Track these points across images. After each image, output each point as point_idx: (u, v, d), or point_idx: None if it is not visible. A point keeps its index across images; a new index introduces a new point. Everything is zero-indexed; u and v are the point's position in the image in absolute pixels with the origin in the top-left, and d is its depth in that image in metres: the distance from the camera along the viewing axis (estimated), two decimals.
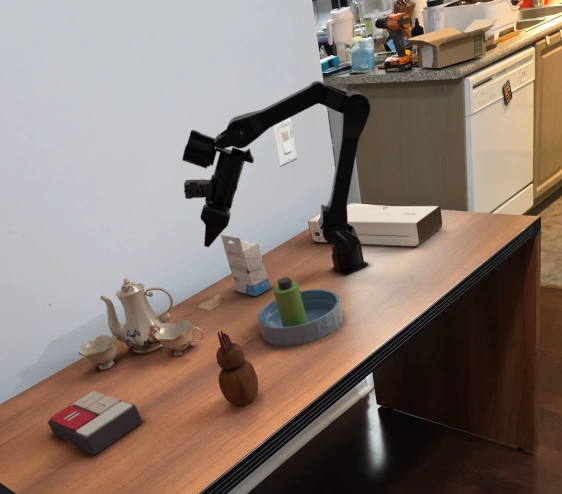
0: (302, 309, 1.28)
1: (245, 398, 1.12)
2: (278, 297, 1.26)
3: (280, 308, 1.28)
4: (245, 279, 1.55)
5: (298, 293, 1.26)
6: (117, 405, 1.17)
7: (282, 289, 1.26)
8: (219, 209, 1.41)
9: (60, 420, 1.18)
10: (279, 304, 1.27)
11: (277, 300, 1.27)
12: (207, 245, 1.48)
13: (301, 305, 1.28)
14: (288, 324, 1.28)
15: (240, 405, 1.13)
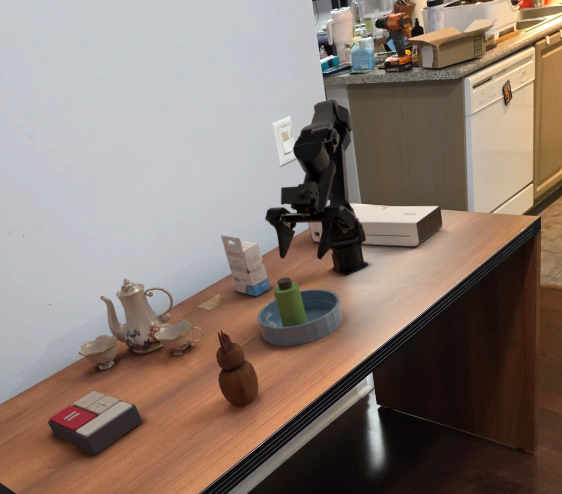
0: (302, 309, 1.28)
1: (245, 398, 1.12)
2: (278, 297, 1.26)
3: (280, 308, 1.28)
4: (245, 279, 1.55)
5: (298, 293, 1.26)
6: (117, 405, 1.17)
7: (282, 289, 1.26)
8: None
9: (60, 420, 1.18)
10: (279, 304, 1.27)
11: (277, 300, 1.27)
12: (321, 257, 1.29)
13: (301, 305, 1.28)
14: (288, 324, 1.28)
15: (240, 405, 1.13)
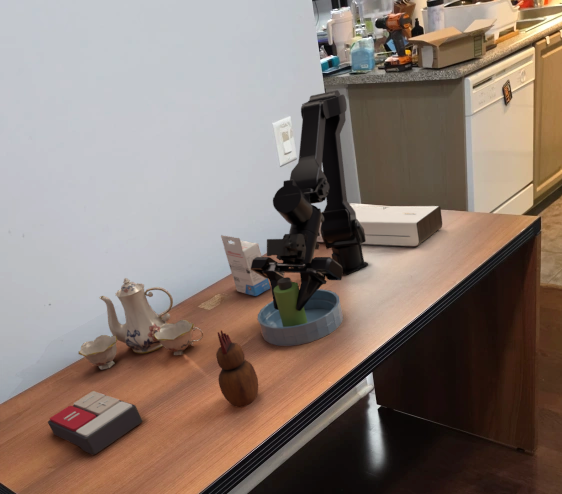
0: (302, 309, 1.28)
1: (245, 398, 1.12)
2: (278, 297, 1.26)
3: (280, 308, 1.27)
4: (245, 279, 1.55)
5: (298, 293, 1.26)
6: (117, 405, 1.17)
7: (282, 290, 1.26)
8: None
9: (60, 420, 1.18)
10: (279, 304, 1.27)
11: (277, 300, 1.27)
12: (300, 308, 1.27)
13: None
14: (288, 324, 1.28)
15: (240, 405, 1.13)
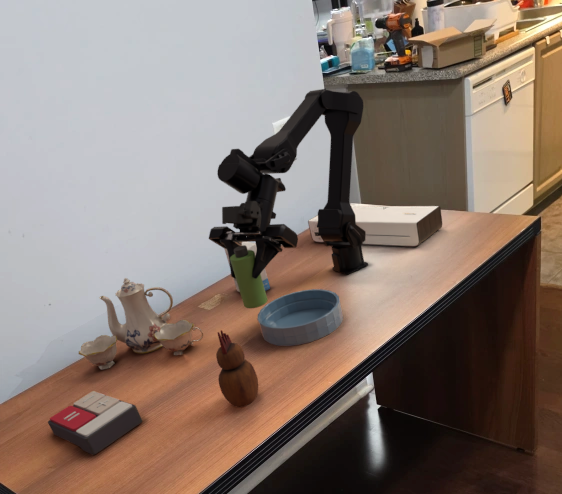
0: (259, 277, 1.30)
1: (245, 398, 1.12)
2: (234, 265, 1.28)
3: (237, 276, 1.29)
4: None
5: None
6: (117, 405, 1.17)
7: (238, 257, 1.28)
8: None
9: (60, 420, 1.18)
10: (236, 272, 1.29)
11: (234, 268, 1.29)
12: (256, 276, 1.28)
13: None
14: (245, 292, 1.30)
15: (240, 405, 1.13)
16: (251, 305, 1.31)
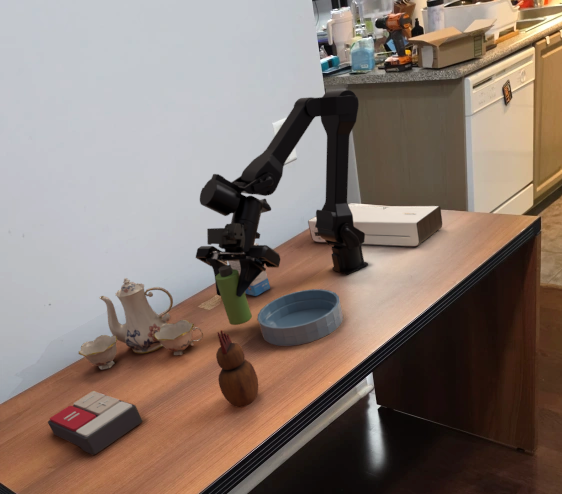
0: (243, 295, 1.35)
1: (245, 398, 1.12)
2: (219, 284, 1.33)
3: (222, 294, 1.34)
4: None
5: (238, 280, 1.33)
6: (117, 405, 1.17)
7: (223, 276, 1.33)
8: None
9: (60, 420, 1.18)
10: (220, 290, 1.34)
11: (218, 286, 1.34)
12: (240, 294, 1.34)
13: None
14: (230, 309, 1.35)
15: (240, 405, 1.13)
16: (236, 322, 1.37)
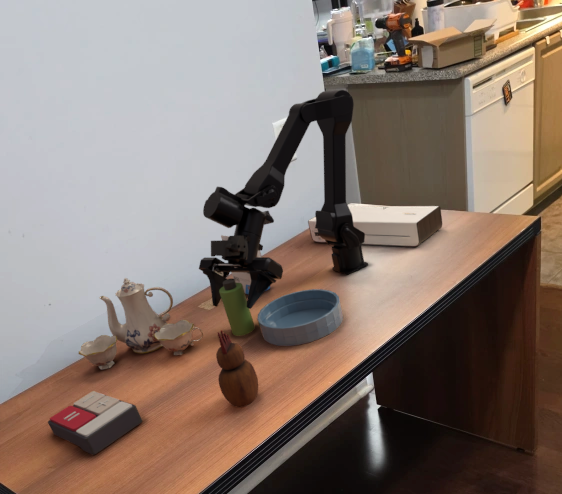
0: (246, 308, 1.37)
1: (245, 398, 1.12)
2: (223, 297, 1.34)
3: (226, 307, 1.36)
4: (245, 279, 1.55)
5: (242, 293, 1.35)
6: (117, 405, 1.17)
7: (227, 290, 1.34)
8: None
9: (60, 420, 1.18)
10: (224, 303, 1.35)
11: (222, 300, 1.35)
12: (250, 306, 1.34)
13: (245, 304, 1.36)
14: (234, 322, 1.37)
15: (240, 405, 1.13)
16: (239, 334, 1.38)
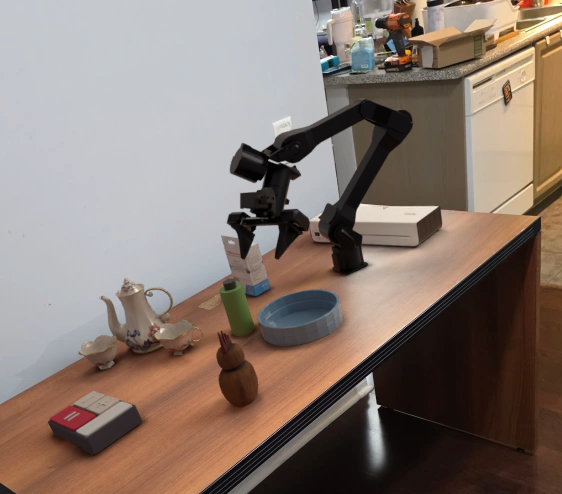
0: (246, 308, 1.37)
1: (245, 398, 1.12)
2: (223, 297, 1.34)
3: (226, 307, 1.36)
4: (245, 279, 1.55)
5: (242, 293, 1.35)
6: (117, 405, 1.17)
7: (227, 290, 1.34)
8: None
9: (60, 420, 1.18)
10: (224, 303, 1.35)
11: (222, 300, 1.35)
12: (278, 257, 1.38)
13: (245, 304, 1.36)
14: (234, 322, 1.37)
15: (240, 405, 1.13)
16: (239, 334, 1.38)
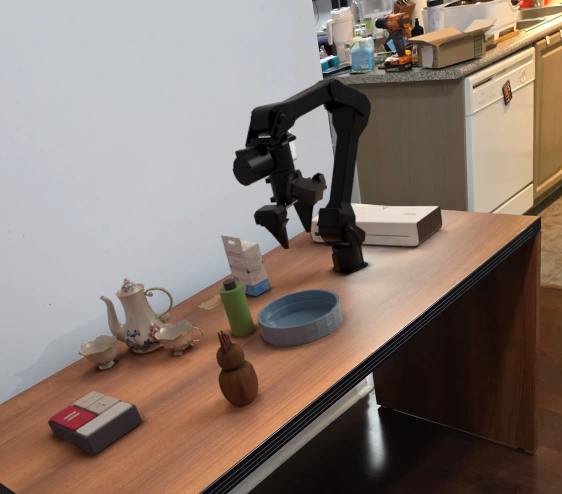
0: (246, 308, 1.37)
1: (245, 398, 1.12)
2: (223, 297, 1.34)
3: (226, 307, 1.36)
4: (245, 279, 1.55)
5: (242, 293, 1.35)
6: (117, 405, 1.17)
7: (227, 290, 1.34)
8: None
9: (60, 420, 1.18)
10: (224, 303, 1.35)
11: (222, 300, 1.35)
12: None
13: (245, 304, 1.36)
14: (234, 322, 1.37)
15: (240, 405, 1.13)
16: (239, 334, 1.38)
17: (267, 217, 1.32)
